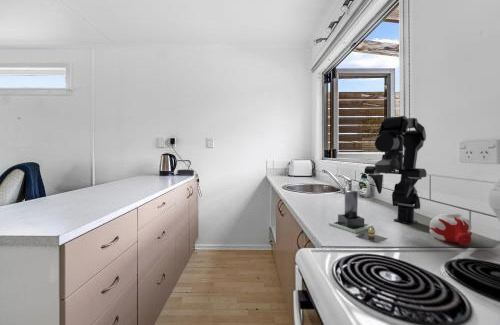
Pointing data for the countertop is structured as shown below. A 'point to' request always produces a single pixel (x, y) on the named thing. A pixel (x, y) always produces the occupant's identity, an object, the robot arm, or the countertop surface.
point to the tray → (350, 228)
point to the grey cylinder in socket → (351, 212)
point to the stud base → (371, 236)
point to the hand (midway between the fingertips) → (392, 195)
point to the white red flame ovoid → (451, 228)
